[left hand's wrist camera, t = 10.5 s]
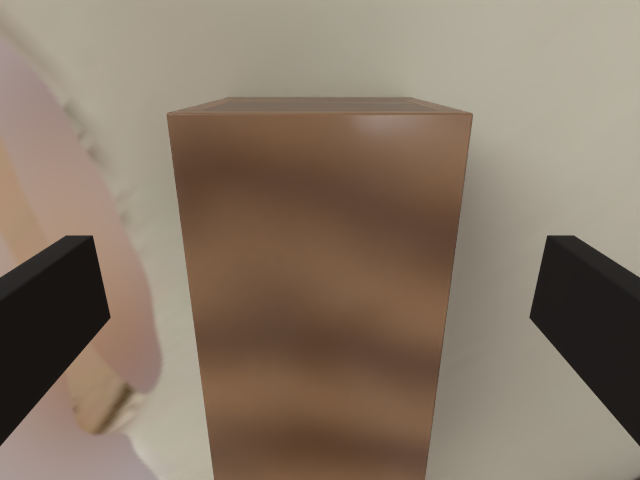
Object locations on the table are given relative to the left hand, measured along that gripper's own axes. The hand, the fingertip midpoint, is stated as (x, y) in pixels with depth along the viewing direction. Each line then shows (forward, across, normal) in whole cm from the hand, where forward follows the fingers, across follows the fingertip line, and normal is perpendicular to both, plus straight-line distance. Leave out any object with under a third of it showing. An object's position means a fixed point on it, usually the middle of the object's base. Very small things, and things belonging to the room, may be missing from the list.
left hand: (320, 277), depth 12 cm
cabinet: (+16, 0, -7) cm, 18 cm away
